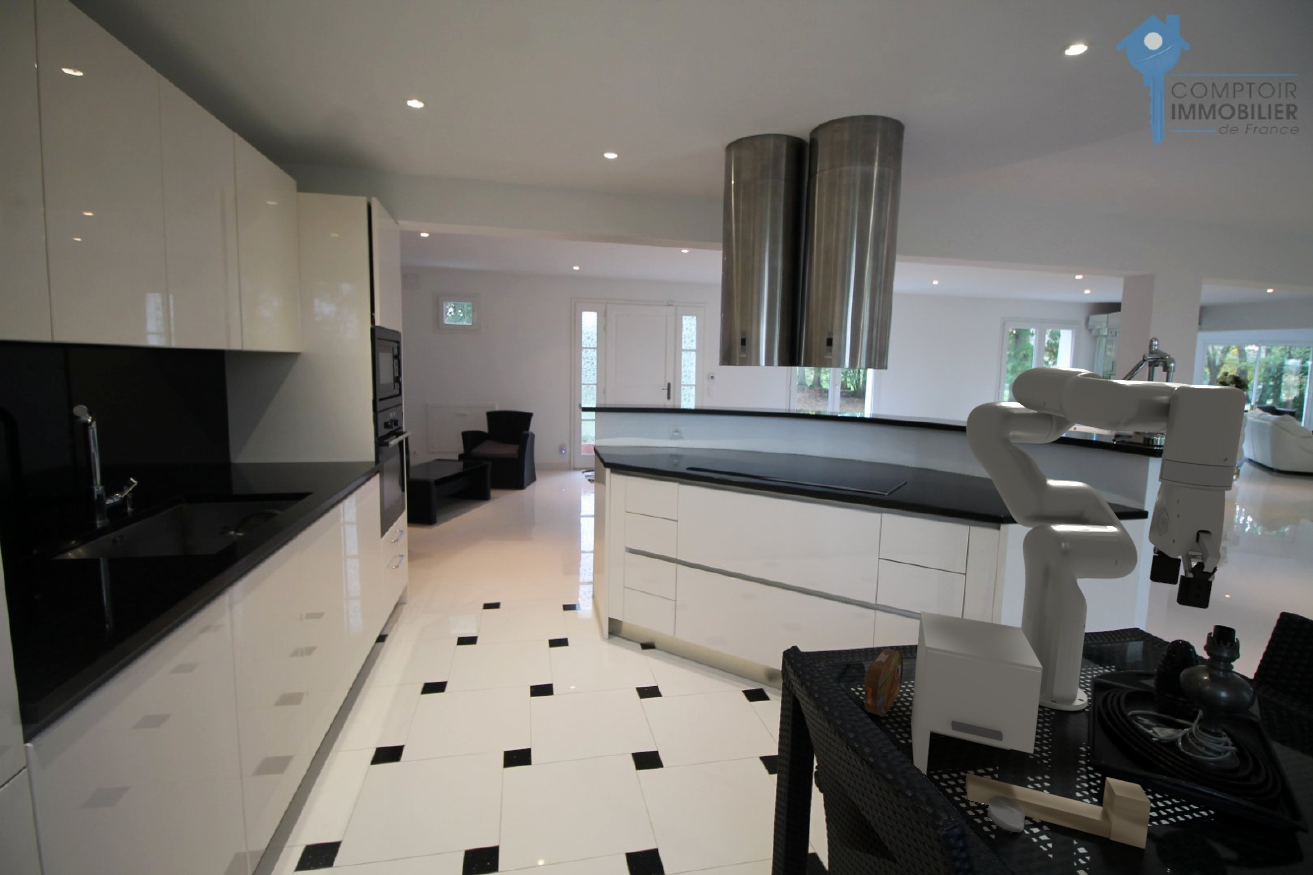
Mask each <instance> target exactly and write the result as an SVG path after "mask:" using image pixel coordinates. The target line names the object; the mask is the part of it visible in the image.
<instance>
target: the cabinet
mask: <svg viewBox="0 0 1313 875" xmlns="http://www.w3.org/2000/svg"><path fill="white" fill-rule="evenodd" d="M918 625H919V626H918V628H919V629H918V636H917V637H918V639H917V647H916V648H917V649H916V650H917V651H916V658H915V659H916V661H915V673H914V681H913V682H914V685H913V694H912V695H913V696H912V706H911V707H912V708H911V716H910V717H911V718H910V726H911V727H910V728H911V739H912V740H911V742H912V756H913V758H912V759H913V766H914V765H915V766H916V767H917V768H919V769H920V770H921V771H922V773H924V774H925V775H926V776H927V768H928V758H929V747H930V739H931V738H930V737H931V735H930V734H931V733H935V734H938V735H944V736H948V737H952V738H955V739H961V740H966V741H969V742H974V743H978V744H982V745H987V746H991V747H994V748H1000V749H1004V750H1007V751H1008V750H1009V751H1010V750H1015V751H1020V752H1023V753H1024V752H1025V753H1029V754H1031V755H1033V754H1034V748H1035V741H1036V730H1037V722H1038V714H1039V713H1038V712H1039V706H1040V705H1039V696H1040V687H1041V678H1042V669H1043V667H1042V666H1041V664H1040V662H1039V660H1038V658H1037V657H1036V655H1035V653H1034V651H1033V649H1032V648H1031V646H1030V644H1029V642H1028V640H1027V639H1026V637H1025V635H1024V633H1023V631H1022V630H1021V626H1020V627H1018V626H1013V625H1008V624H1001V623H994V622H989V621H982V620H976V619H970V618H964V617H958V616H952V615H947V614H945V615H944V614H939V613H935V612H934V613H933V612H929V611H927V612H926V611H920V616H919V624H918Z"/></svg>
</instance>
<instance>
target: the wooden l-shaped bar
mask: <svg viewBox="0 0 1313 875" xmlns="http://www.w3.org/2000/svg"><path fill="white" fill-rule="evenodd" d="M965 777H966V778H965V792H967V793H966V797H968V798H967V801H968V800H970V801H969V802H971V801H974V802H973V803H975V802H978V803H977V804H979V803H984V804H985V805H984V806H986V805H989V799H990V798H992V797H995V796H999V797H1004V798H1008V799H1010V800H1012V801H1014V802H1016V803H1017V804H1019V805H1020V806H1021V807H1022V808H1023V809H1024V811H1025V817H1028V818H1032V819H1036V820H1038V821H1039V820H1040V821H1043V822H1048V823H1052V824H1056V825H1059V826H1062V827H1065V828H1070V829H1073V830H1074V829H1075V830H1078V831H1082V832H1085V833H1089V834H1093V835H1096V836H1101V837H1104V838H1107V839H1109V840H1111V841H1115V842H1118V843H1123V844H1126V845H1130V846H1133V847H1136V848H1137V847H1138V848H1140V849H1146V843H1147V837H1148V836H1147V835H1148V827H1149V820H1150V813H1151V805H1152V802H1151V801H1150V799H1149V798H1148V795H1147V794H1146V792H1145V791H1144V790H1143V788H1142V786H1141V785H1140V784H1137V783H1134V782H1129V781H1124V780H1120V779H1116V778H1111V777H1107V776H1106V777H1105V784H1104V792H1103V800H1102V802H1103V803H1102V806H1099V805H1095V804H1092V803H1091V804H1090V803H1088V802H1083V801H1080V800H1075V799H1072V798H1068V797H1064V796H1059V795H1056V794H1052V793H1047V792H1043V791H1040V790H1036V789H1031V788H1028V787H1023V786H1019V785H1016V784H1012V783H1011V784H1010V783H1008V782H1004V781H999V780H996V779H992V778H987V777H983V776H979V775H976V774H973V773H966V776H965Z"/></svg>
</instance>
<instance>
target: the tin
mask: <svg viewBox="0 0 1313 875" xmlns="http://www.w3.org/2000/svg"><path fill="white" fill-rule="evenodd" d="M903 672H904V658H903V654H902V652H901V651H900V650H895V649H892V648H891V649H890V648H884V649H882V650H881V651H880V652H879V654H877V656H876V657H875V658H874V660H873V661H872V662H871V663H870V665H869V666H868V668H867V671H866V674H865V679H864V685H863V686H864V703H863V704H864V705H863V706H864V709H865V710H866V711H867V712H868V713H871V714H873V715H877V716H880V717H885V716H886V714H887V713H888V711H889V710H890V708H891V707H892V706H893V704H894V703H895V701H896V700H897V698H898V696H899V693H900V691H901V686H902V682H903Z"/></svg>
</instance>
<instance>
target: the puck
mask: <svg viewBox="0 0 1313 875" xmlns="http://www.w3.org/2000/svg"><path fill="white" fill-rule="evenodd" d="M987 807H988V809H987V817H988V816H989V818H990V819H991V820H992V821H993V822H994V823H995V824H997V825H998V826H1000V827H1002V828H1003V829H1007V830H1009V831H1012V832H1018V833H1021V832H1023V831H1024V827H1025V818H1026V816H1025V811H1024V809H1023V808H1022V807H1021V806H1020V805H1019V804H1017V803H1016V802H1014V801H1012V800H1010V799H1008V798H1004V797H999V796H995V797H992V798H990V799H989V806H987ZM989 818H988V819H989ZM1012 832H1011V833H1012ZM1018 833H1017V834H1018Z"/></svg>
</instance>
